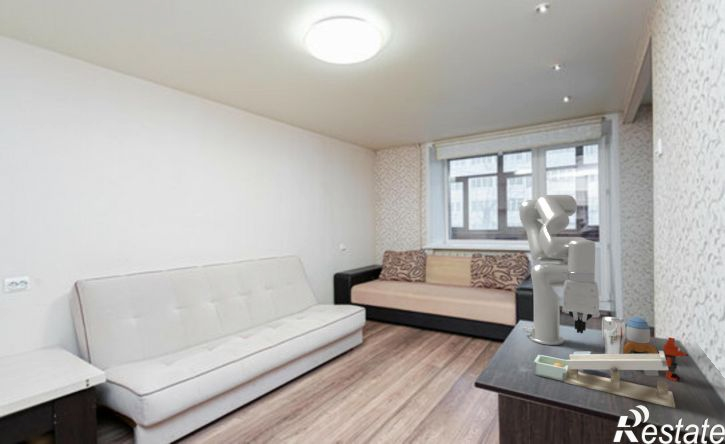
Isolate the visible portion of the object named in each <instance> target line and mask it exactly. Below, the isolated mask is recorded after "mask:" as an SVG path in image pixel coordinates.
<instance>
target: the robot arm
mask: <svg viewBox="0 0 725 444" xmlns="http://www.w3.org/2000/svg"><path fill="white" fill-rule="evenodd" d="M577 209H578V204H577V201H576V198H574V196H572V195H570V194H546V195H542V196H540V197H538V198H537V199H531V200H525V201H523V202H522V203H520V206H519V209H518V210H519V218H520V219H519V220H520V223H521V224H522V225H521V226H522V227H523V229H524V230H525V233H526V236H527V241H528V247H529V251H530V255H531V258H532V260H533V261H534V262H538V263H537V264H535V265H533V266H532V268H531V269H530V278H531V283H532V290H533V292H532V293H533V326H531V327H528V326H524V325H523V326H522V331H523V332H524V333H527V334H529V339H530V340H531V341H532V342H535V343H537V344H541V345H546V346H547V345H549V346H561V345H563V344H564V343H565V338H563V337H562V336H560V335H561V333H560V325H561V324H560V322H561V321H560V298H559V295H558V294H557V292H556V291H555V290H554V288H563V289H562V290H563V291H562V301H561V302H562V303H561V304H562V306H561V307H562V309H561V311H562V312H563V313H565V314H568V315H569V316H570V317H571V318H573V321H574V330H576V333H577V334H583V333H584V331H585V332H586V326H587V325H586V324H587V323H586V322H587V321H588V320H590V319H592V318H599V317H600V316H601V313H600V310H599V308H600V293H599V285H598V282H596V243H595V242H594V241H593V240H590V239H587V238H585V237H582V236H552V235H555V234H558V233H560V232H562V231H563V230H566V228H567V227H568V226H569V224H570V218H569V217H571V216H573V215H575V213H576V212H577ZM539 220H542V222H543V223H542V222H540V221H539ZM579 313H581V314H582V317H581V319H580V316H579Z"/></svg>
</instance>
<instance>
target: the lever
mask: <svg viewBox="0 0 725 444" xmlns="http://www.w3.org/2000/svg"><path fill="white" fill-rule="evenodd" d="M658 352H659V353H658V354H649V353H643V354H635V353H629V354H604V353H601V354H599V353H597V354H596V353H594V354H592V351H574V352H573V354H569V356H568V357H569V359H566V360H567V362H568V366H569V369H578V370H600V371H601V370H604V371H605V370H606V371H607V370H608V371H609V370H610V371H611V367H616V368H619V370H620V371H624V370H625V371H643V372H644V375H645V376H652V377H653V376H659V371H666V370H669V369H668V366H667V362H666V358H665V355H664V354H665V353H664V350H658Z"/></svg>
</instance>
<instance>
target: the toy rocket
mask: <svg viewBox="0 0 725 444" xmlns="http://www.w3.org/2000/svg"><path fill="white" fill-rule="evenodd" d="M626 340H627V343H625V345H624V350H623V354H631V352H632V354H644V353H645V352H646V353H647V352H648V354H659V353H658V352H659V351H658V350H657V349H656V348H655V347H654V346H653V345H651V344H650V340H651V330H650V325H649V324H648V321H646V320H645V319H644V318H642V317H639V316H633V317H631V318H629V320H627V323H626ZM632 350H633V351H632Z"/></svg>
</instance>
